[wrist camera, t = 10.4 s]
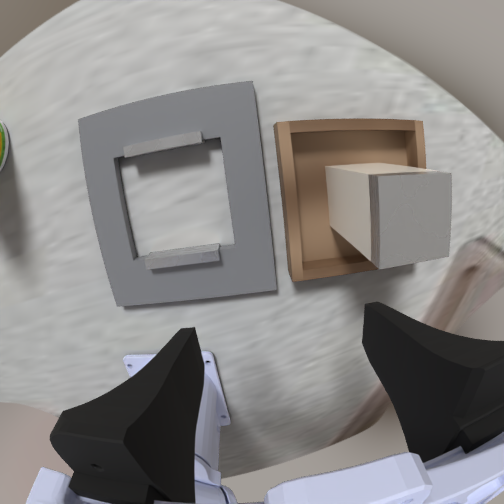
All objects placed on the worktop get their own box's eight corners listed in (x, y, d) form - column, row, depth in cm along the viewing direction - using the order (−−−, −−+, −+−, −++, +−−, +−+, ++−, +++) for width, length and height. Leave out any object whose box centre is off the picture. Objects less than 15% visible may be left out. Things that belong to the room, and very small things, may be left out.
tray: (411, 252, 21) (424, 261, 19) (288, 270, 21) (292, 281, 19) (408, 122, 18) (422, 120, 16) (273, 125, 18) (277, 122, 16)
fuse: (382, 219, 20) (448, 256, 12) (329, 225, 20) (379, 269, 12) (379, 162, 18) (451, 173, 11) (324, 166, 19) (377, 176, 11)
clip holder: (275, 285, 22) (277, 294, 20) (120, 301, 22) (113, 310, 20) (252, 83, 17) (253, 78, 16) (83, 120, 17) (73, 118, 16)
